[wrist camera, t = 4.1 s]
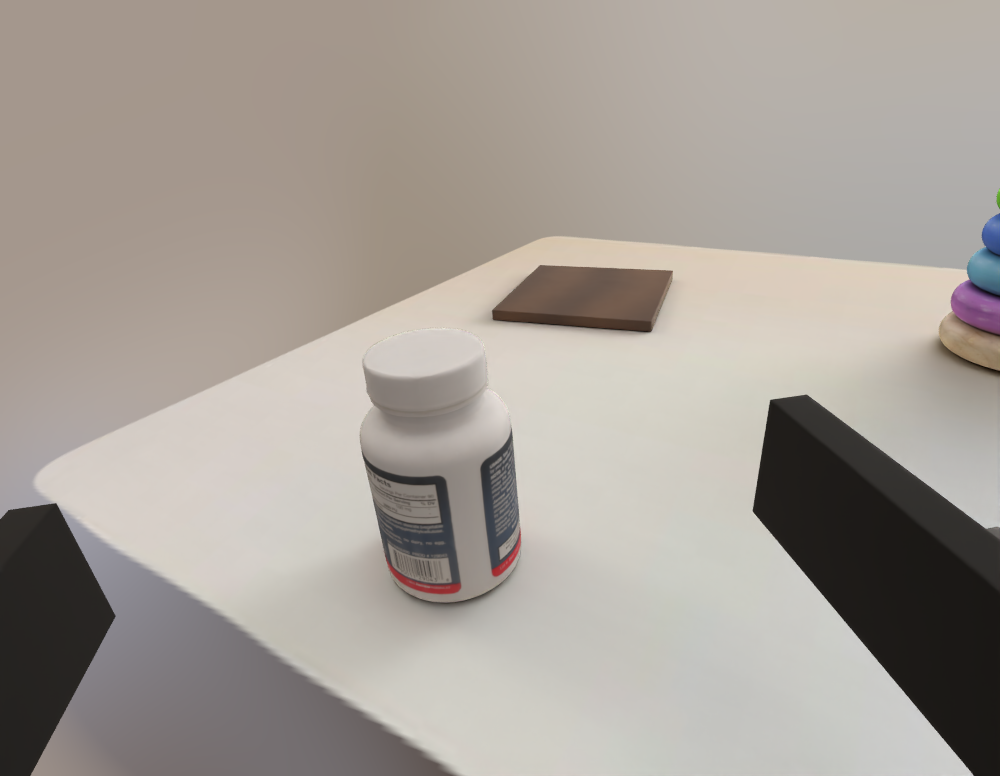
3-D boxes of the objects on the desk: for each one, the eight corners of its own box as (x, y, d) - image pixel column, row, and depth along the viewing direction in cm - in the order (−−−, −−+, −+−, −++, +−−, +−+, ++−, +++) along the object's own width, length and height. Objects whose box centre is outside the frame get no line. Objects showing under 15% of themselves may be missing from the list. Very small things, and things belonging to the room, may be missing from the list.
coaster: (492, 319, 46) (491, 310, 45) (540, 273, 55) (539, 265, 55) (651, 332, 41) (651, 321, 41) (672, 279, 51) (672, 270, 51)
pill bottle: (489, 497, 26) (471, 308, 22) (545, 574, 22) (535, 358, 18) (373, 536, 25) (329, 340, 20) (408, 628, 20) (362, 403, 16)
